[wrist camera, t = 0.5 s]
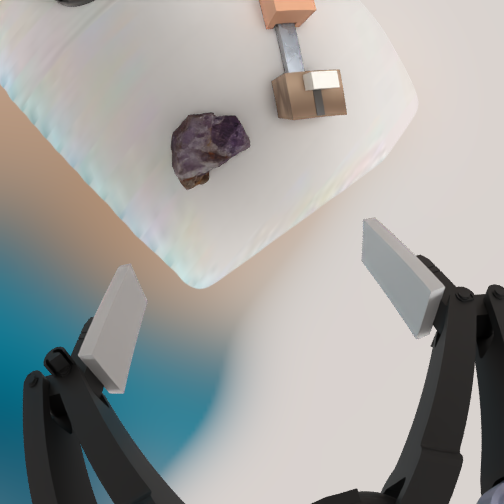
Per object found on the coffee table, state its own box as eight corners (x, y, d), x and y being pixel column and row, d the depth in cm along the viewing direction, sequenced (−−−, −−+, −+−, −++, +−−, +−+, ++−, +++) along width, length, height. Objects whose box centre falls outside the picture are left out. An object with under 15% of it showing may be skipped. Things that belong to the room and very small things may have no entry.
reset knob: (302, 75, 28) (311, 71, 25) (326, 73, 28) (336, 70, 24) (305, 90, 29) (314, 88, 25) (328, 88, 29) (339, 87, 25)
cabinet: (271, 81, 36) (285, 72, 27) (320, 76, 36) (345, 69, 27) (278, 117, 39) (293, 120, 30) (326, 111, 39) (352, 114, 30)
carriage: (258, -2, 29) (266, -24, 21) (291, -4, 29) (306, -25, 21) (266, 29, 32) (276, 11, 24) (299, 26, 32) (316, 9, 24)
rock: (250, 149, 43) (214, 98, 38) (265, 153, 35) (222, 91, 30) (190, 192, 43) (152, 144, 39) (192, 206, 36) (145, 147, 31)
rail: (259, -9, 28) (262, -18, 25) (286, -11, 28) (292, -20, 25) (281, 86, 37) (286, 83, 33) (308, 83, 37) (316, 81, 33)
